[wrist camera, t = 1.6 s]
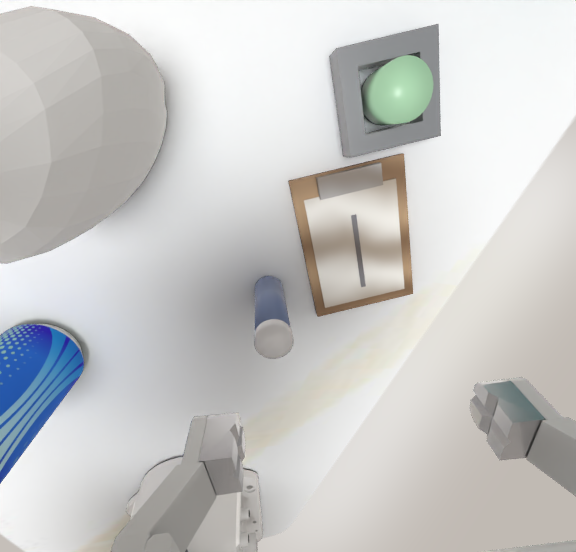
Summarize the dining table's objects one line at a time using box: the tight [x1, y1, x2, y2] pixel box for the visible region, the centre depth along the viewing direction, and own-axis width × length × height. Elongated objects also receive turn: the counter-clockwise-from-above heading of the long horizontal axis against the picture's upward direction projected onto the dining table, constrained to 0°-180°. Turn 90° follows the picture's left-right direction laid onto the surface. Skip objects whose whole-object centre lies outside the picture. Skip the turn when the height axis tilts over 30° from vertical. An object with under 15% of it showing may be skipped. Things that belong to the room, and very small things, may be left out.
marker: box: [254, 276, 293, 359], centre depth 30 cm, size 3×3×10 cm
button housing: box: [329, 24, 441, 157], centre depth 27 cm, size 8×8×2 cm
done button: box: [361, 55, 433, 125], centre depth 25 cm, size 4×4×4 cm
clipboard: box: [289, 154, 413, 317], centre depth 32 cm, size 15×11×1 cm
